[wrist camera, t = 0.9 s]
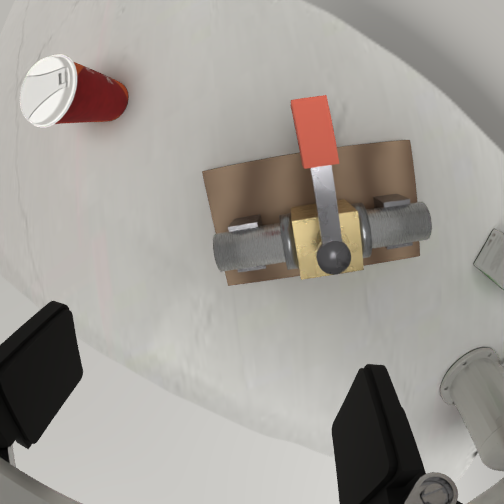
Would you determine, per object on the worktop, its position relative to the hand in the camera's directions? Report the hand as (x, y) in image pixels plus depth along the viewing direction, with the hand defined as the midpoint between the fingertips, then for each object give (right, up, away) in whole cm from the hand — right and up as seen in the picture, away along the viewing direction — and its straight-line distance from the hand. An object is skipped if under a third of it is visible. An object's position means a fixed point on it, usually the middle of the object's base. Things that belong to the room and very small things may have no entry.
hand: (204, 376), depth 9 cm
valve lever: (+7, +9, +16) cm, 20 cm away
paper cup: (-17, +24, +26) cm, 39 cm away
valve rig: (+9, +9, +27) cm, 30 cm away
